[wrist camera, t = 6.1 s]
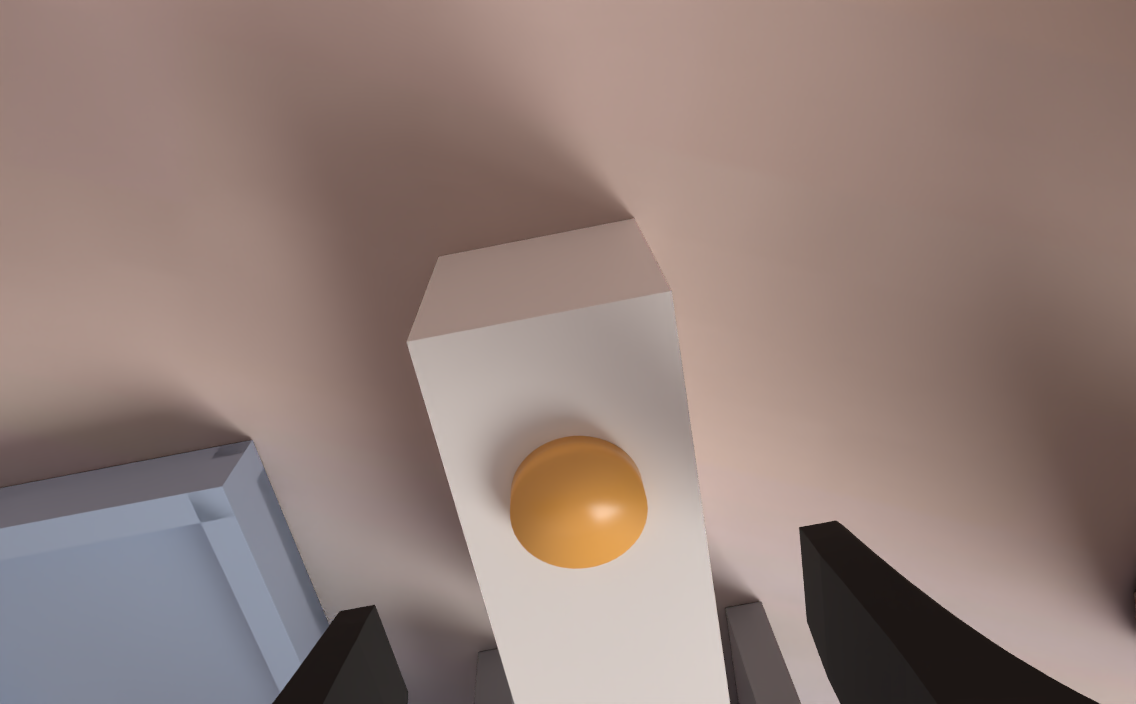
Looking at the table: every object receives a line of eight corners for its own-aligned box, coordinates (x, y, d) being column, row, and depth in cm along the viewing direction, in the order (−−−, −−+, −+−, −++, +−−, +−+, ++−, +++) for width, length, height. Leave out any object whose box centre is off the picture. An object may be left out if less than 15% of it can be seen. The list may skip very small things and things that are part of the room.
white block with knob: (689, 571, 21) (740, 750, 16) (531, 599, 21) (531, 785, 16) (633, 216, 17) (677, 303, 12) (439, 254, 17) (400, 357, 12)
